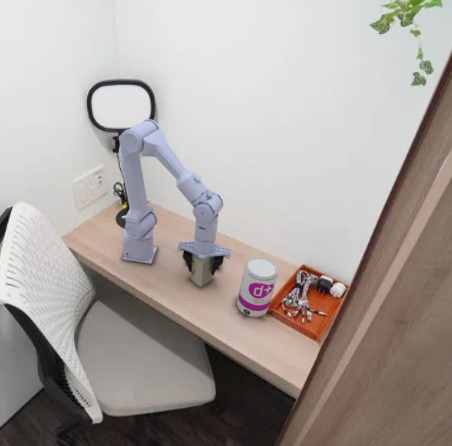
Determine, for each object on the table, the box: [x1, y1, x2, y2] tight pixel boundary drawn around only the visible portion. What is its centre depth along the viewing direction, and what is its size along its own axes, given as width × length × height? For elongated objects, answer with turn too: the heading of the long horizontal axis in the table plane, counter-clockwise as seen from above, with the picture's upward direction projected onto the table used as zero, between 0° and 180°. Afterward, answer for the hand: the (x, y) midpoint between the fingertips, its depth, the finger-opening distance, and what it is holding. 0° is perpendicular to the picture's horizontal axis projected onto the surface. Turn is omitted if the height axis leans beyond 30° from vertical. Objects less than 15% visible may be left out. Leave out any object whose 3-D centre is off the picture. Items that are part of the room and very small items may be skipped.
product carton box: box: [190, 254, 214, 288], centre depth 98 cm, size 5×4×10 cm
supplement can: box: [236, 257, 279, 318], centre depth 88 cm, size 8×8×15 cm
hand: (201, 271), depth 99 cm, fingers closed on product carton box, 6 cm apart
